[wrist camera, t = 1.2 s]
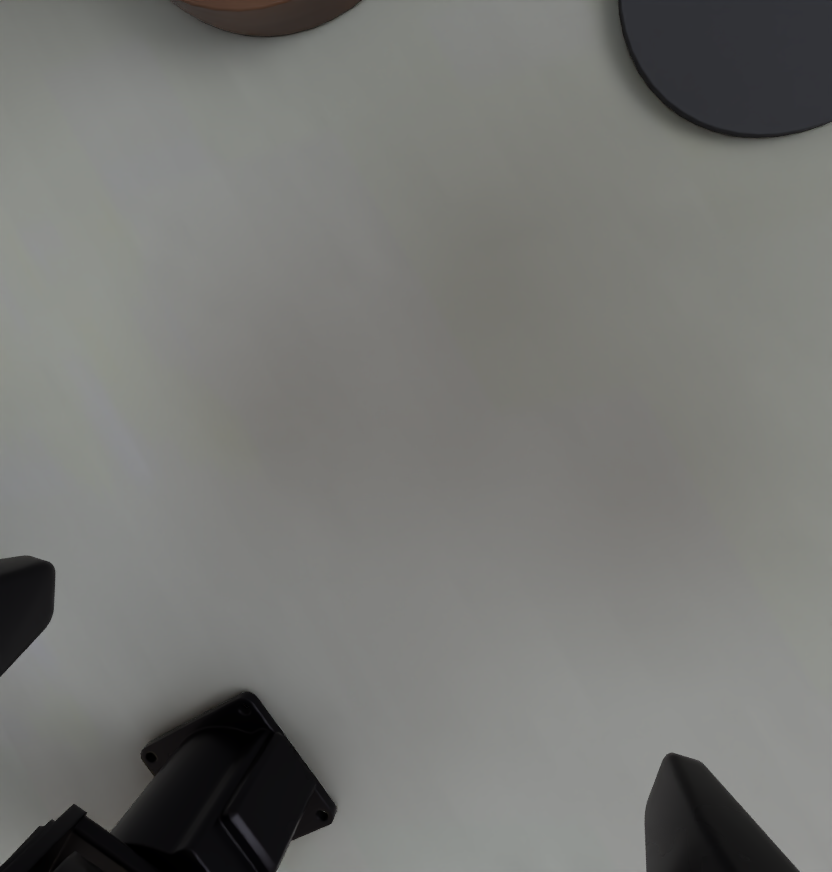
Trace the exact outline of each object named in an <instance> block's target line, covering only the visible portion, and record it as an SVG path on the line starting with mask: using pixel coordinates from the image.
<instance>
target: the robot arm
mask: <svg viewBox="0 0 832 872" xmlns="http://www.w3.org/2000/svg"><path fill="white" fill-rule="evenodd" d="M54 594H55V568H54V566H53V565H52V564H51V563H50V562H48V561H45V560H41V559H38V558H35V557H31V556H18V557H12V558H5V559H0V677H1V675H2V674H3V673H4V672H5V671H6V670H7V669H8V668H9V667H10V666H11V665H12V664H13V663H14V662H15V660H16V659H17V658H18V657H19V656H20V655H21V654H22V653H23V652H24V651H25V650H26V649H27V648H28V647H29V645H30V644H31V643H32V642H33V641H34V640H35V639H36V638H37V637H38V636H39V635H40V634H41V633H42V632H43V630H44V629H45V628H46V627H47V625H48V624H49V622H50V620H51V618H52V615H53V611H54ZM243 703H244V704H247V705H248V706H249V708H247V707H246V706H245V705H244V704H243ZM141 759H142V760H143V762H144V763H145V765H146V766H147V767H148V769H149V770H150V771H151V773H152V774H153V775H154V778H153V779H152V781H151V782H150V783H149V784H148V786H147V787H146V788H145V789H144V791H143V792H142V793H141V794H140V796H139V797H138V798H137V799H136V801H135V802H134V803H133V804H132V806H131V807H130V808H129V810H128V811H127V812H126V813H125V815H124V816H123V817H122V818H121V820H120V821H119V822H118V823H117V825H116V826H115V827H114V828H113V830H112V831H111V832H110V833H109V832H108V831H107V830H105V829H104V828H102V827H101V826H99V825H98V824H97V823H95V822H94V821H92V820H91V819H90V818H88V817H87V816H86V814H87V812H85V811H84V810H83V809H81V808H80V807H78V806H77V805H75V804H73V805H72V806H71V807H70V808H69V809H68V810H67V811H66V812H65V813H64V814H62V815H61V816H60V817H59V818H58V819H57V820H56V821H54V820H53V819H52V820H50V821H49V822H48V823H47V824H46V825H45V826H39V827H38V828H37V829H36V830H35V831H34V832H33V833H32V834H31V835H30V836H29V838H28V839H27V840H26V841H25V842H24V843H23V844H22V845H21V846H20V847H19V848H18V849H17V850H16V851H15V852H14V853H13V854H12V856H11V857H10V858H9V859H8V860H7V861H6V862H5V863H4V864H2V865H1V866H0V872H276V871H277V869H278V867H279V865H280V863H281V861H282V859H283V856H284V854H285V852H286V850H287V848H288V846H289V843H290V841H292V840H294V839H297V838H299V837H301V836H304V835H306V834H308V833H311V832H313V831H316V830H318V829H320V828H323V827H325V826H328V825H329V824H331V823H332V821H333V819H334V817H335V814H336V812H337V808H336V806H335V804H334V802H333V801H332V799H331V798H330V797H329V795H328V794H327V793H326V791H325V790H324V788H323V787H322V786H321V784H320V783H319V782H318V780H317V779H316V777H315V776H314V775H313V773H312V772H311V771H310V769H309V768H308V766H307V765H306V764H305V762H304V761H303V760H302V758H301V757H300V755H299V754H298V753H297V751H296V750H295V749H294V747H293V746H292V744H291V743H290V742H289V740H288V739H287V738H286V736H285V735H284V733H283V732H282V731H281V729H280V728H279V727H278V725H277V724H276V722H275V721H274V720H273V718H272V717H271V716H270V714H269V713H268V711H267V710H266V709H265V707H264V706H263V705H262V703H261V702H260V700H259V699H258V698H257V697H256V696H255V695H254V694H252V693H250V692H243V693H241V694H239V695H237V696H235V697H233V698H231V699H229V700H228V701H226V702H224V703H222V704H220V705H218V706H216V707H214V708H213V709H211V710H209V711H207V712H205V713H203V714H201V715H199V716H198V717H196V718H194V719H192V720H190V721H188V722H186V723H184V724H183V725H181V726H179V727H177V728H175V729H173V730H171V731H169V732H167V733H166V734H164V735H162V736H160V737H158V738H156V739H154V740H152V741H151V742H149V743H148V744H147V745H146V746H145V747H144V749H143V750H142V751H141ZM321 810H322V811H321ZM323 811H325V812H326V813H325V812H323ZM645 845H646V871H647V872H800V871H799V870H798V869H797V868H796V867H795V866H794V865H793V863H792V862H791V861H790V860H789V859H788V858H787V857H786V856H785V855H784V853H783V852H782V851H781V850H780V849H779V848H778V847H777V846H776V844H775V843H774V842H773V841H772V840H771V839H770V838H769V837H768V836H767V834H766V833H765V832H764V831H763V830H762V829H761V828H760V827H759V825H758V824H757V823H756V822H755V821H754V820H753V819H752V818H751V816H750V815H749V814H748V813H747V812H746V811H745V810H744V809H743V808H742V806H741V805H740V804H739V803H738V802H737V801H736V800H735V799H734V797H733V796H732V795H731V794H730V793H729V792H728V791H727V790H726V789H725V787H724V786H723V785H722V784H721V783H720V782H719V781H718V780H717V778H716V777H715V776H714V775H713V774H712V773H711V772H710V771H709V770H708V768H707V767H706V766H705V765H704V764H703V763H702V762H700V761H698V760H695V759H692V758H689V757H685V756H682V755H679V754H675V753H669V754H667V755H666V756H665V757H664V759H663V761H662V763H661V766H660V768H659V771H658V774H657V777H656V779H655V782H654V785H653V787H652V790H651V793H650V795H649V798H648V801H647V805H646V810H645Z"/></svg>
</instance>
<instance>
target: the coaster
mask: <svg viewBox="0 0 832 872" xmlns="http://www.w3.org/2000/svg"><path fill="white" fill-rule="evenodd" d="M618 1H619V15H620V20H621V25H622V30H623V35H624V38H625V41H626V44H627V47H628V50H629V53H630V56H631V58H632V60H633V62H634V64H635V66H636V68H637V69H638V71H639V73H640V75H641V76H642V78H643V79H644V80H645V82H646V83H647V85H648V86H649V88H650V89H651V90H652V91H653V92H654V93H655V94H656V95H657V96H658V97H659V98H660V100H661V101H662V102H663V103H664V104H666V105H667V106H668V107H670V108H671V109H672V110H673V111H675V112H676V113H677V114H679V115H680V116H682V117H684V118H685V119H687V120H689V121H691V122H693V123H694V124H696V125H699V126H701V127H704V128H707V129H709V130H712V131H715V132H719V133H723V134H728V135H732V136H740V137H753V138H761V137H778V136H784V135H789V134H795V133H800V132H803V131H807V130H810V129H813V128H816V127H819V126H822V125H825V124H827V123H829V122H832V0H618Z"/></svg>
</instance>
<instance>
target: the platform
mask: <svg viewBox="0 0 832 872" xmlns="http://www.w3.org/2000/svg"><path fill="white" fill-rule="evenodd" d="M170 1H172V2H173V3H174V4H176V5H177V6H178V7H180V8H181V9H182V10H184V11H185V12H187V13H189V14H190V15H192V16H194V17H196V18H197V19H199V20H201V21H202V22H204V23H207V24H209V25H212V26H214V27H217V28H219V29H222V30H225V31H229V32H234V33H238V34H243V35H252V36H276V35H286V34H292V33H296V32H300V31H303V30H307V29H311V28H313V27H316V26H318V25H320V24H323V23H325V22H328V21H330V20H332V19H334V18H336V17H337V16H339V15H341V14H342V13H344V12H345V11H347V10H349V9H350V8H352V7H354V6H355V5H356V4H357V3H359V2H360V1H361V0H170Z"/></svg>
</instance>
